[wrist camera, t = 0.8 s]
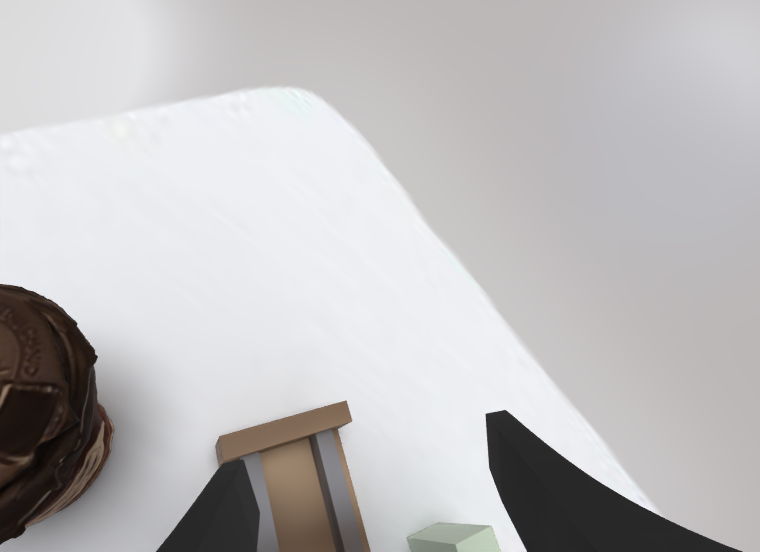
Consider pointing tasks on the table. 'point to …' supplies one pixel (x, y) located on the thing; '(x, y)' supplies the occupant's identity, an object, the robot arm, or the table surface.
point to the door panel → (454, 539)
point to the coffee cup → (45, 411)
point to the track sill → (300, 482)
